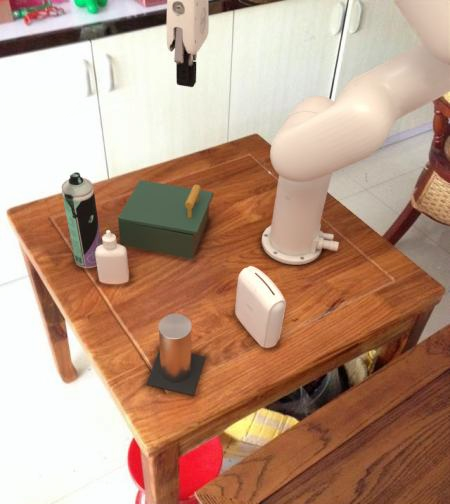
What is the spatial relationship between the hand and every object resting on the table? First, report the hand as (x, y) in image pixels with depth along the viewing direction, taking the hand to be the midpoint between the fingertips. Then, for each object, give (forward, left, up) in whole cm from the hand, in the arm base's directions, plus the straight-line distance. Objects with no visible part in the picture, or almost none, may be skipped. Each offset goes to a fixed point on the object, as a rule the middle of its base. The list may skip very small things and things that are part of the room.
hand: (186, 83), depth 101 cm
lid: (+2, +8, -22) cm, 24 cm away
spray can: (+14, +20, -29) cm, 38 cm away
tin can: (-10, +41, -29) cm, 51 cm away
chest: (+2, +8, -29) cm, 30 cm away
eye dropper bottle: (+7, +24, -29) cm, 38 cm away
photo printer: (-21, +28, -29) cm, 46 cm away
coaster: (-10, +41, -29) cm, 51 cm away
